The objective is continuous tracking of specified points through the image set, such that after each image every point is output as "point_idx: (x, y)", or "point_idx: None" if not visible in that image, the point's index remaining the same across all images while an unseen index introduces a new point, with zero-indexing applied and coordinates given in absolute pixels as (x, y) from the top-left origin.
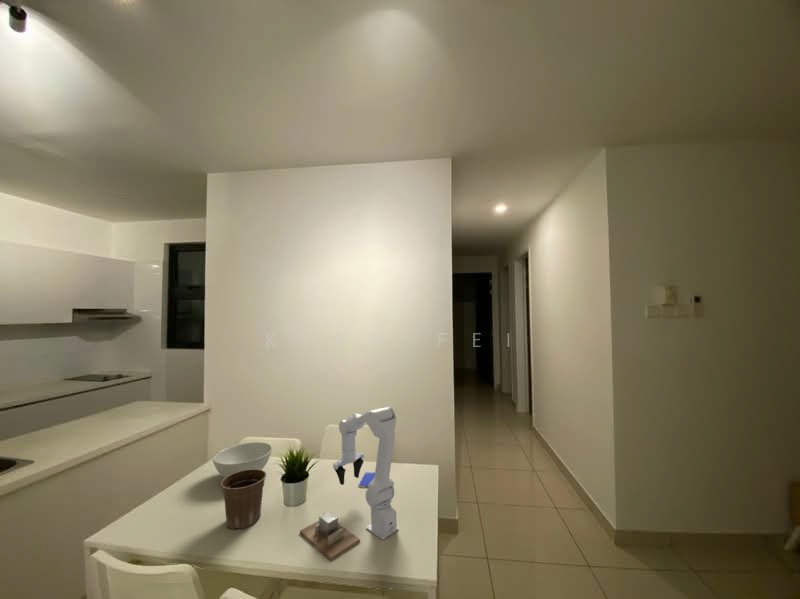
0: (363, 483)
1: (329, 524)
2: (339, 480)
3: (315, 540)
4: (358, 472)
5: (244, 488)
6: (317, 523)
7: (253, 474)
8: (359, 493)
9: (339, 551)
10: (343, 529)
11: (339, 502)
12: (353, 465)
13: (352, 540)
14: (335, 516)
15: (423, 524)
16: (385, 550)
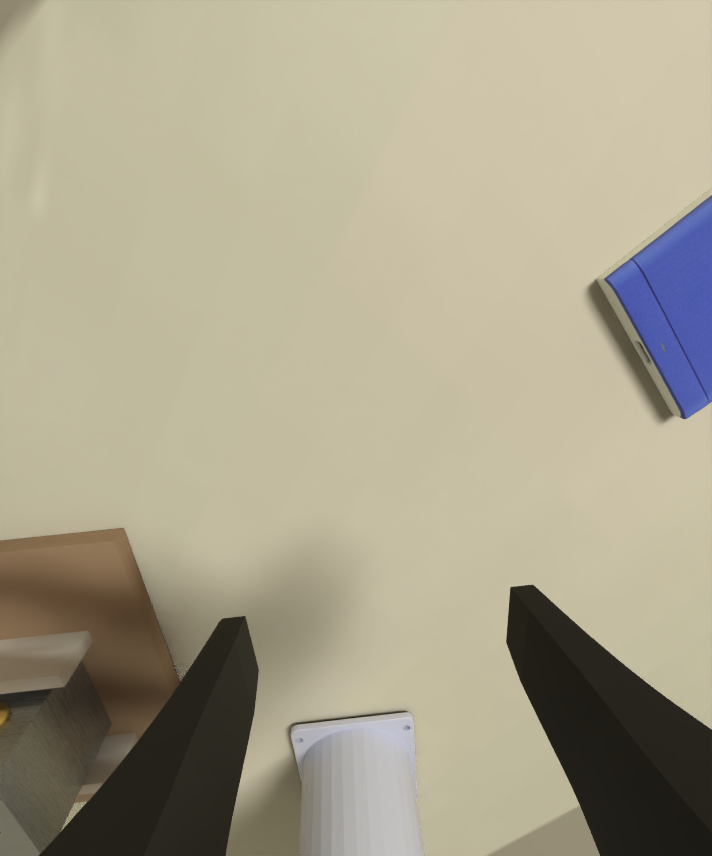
0: (666, 294)
1: None
2: (198, 666)
3: None
4: (560, 749)
5: None
6: (8, 574)
7: None
8: (516, 393)
9: (78, 801)
10: (160, 703)
11: (295, 399)
12: (645, 756)
13: None
14: (32, 846)
15: (521, 813)
16: (281, 838)
